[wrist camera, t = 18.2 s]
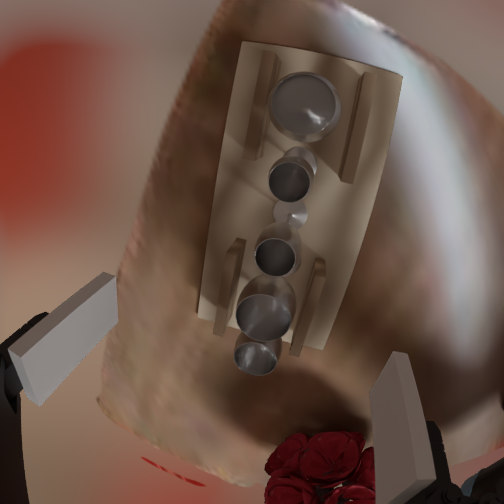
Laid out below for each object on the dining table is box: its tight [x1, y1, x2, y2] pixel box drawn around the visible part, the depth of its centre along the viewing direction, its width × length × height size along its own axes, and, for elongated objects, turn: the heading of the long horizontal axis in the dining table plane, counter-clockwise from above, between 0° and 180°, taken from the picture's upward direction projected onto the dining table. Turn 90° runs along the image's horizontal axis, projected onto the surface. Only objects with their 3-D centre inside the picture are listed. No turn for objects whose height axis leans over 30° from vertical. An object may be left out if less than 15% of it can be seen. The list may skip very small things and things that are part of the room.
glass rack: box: [198, 41, 403, 357], centre depth 34 cm, size 18×36×6 cm, turn 169°
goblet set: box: [234, 71, 342, 376], centre depth 30 cm, size 28×6×13 cm, turn 171°
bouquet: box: [264, 430, 376, 504], centre depth 41 cm, size 22×24×30 cm
